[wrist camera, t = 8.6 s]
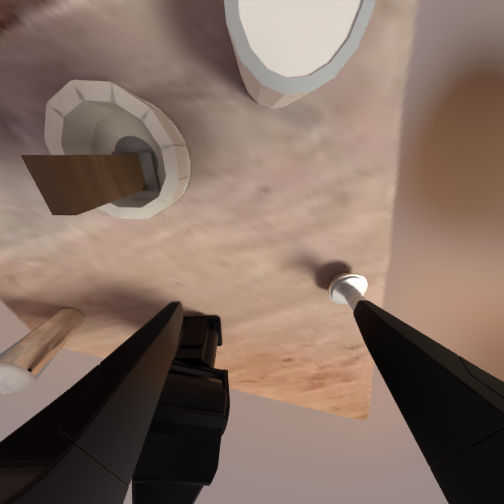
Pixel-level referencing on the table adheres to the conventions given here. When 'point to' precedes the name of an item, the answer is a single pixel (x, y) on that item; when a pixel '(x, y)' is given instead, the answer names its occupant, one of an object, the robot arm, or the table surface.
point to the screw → (347, 288)
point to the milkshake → (36, 350)
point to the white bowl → (119, 139)
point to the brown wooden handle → (91, 179)
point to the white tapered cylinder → (293, 43)
